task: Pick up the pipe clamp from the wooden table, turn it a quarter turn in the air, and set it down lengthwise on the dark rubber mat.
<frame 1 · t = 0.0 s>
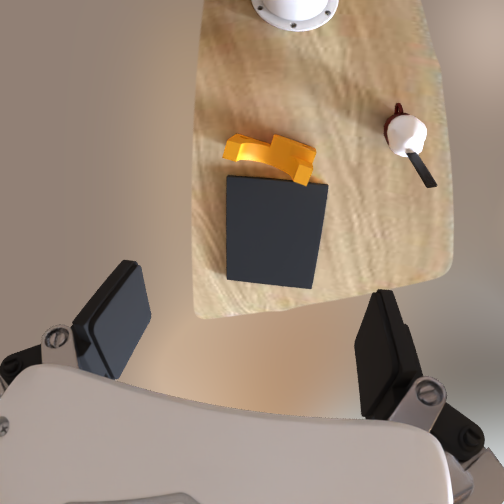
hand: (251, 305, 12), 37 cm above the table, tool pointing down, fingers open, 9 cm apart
cocoa: (397, 133, 39), on the table
pipe clamp: (273, 147, 44), on the table
mat: (273, 235, 51), on the table
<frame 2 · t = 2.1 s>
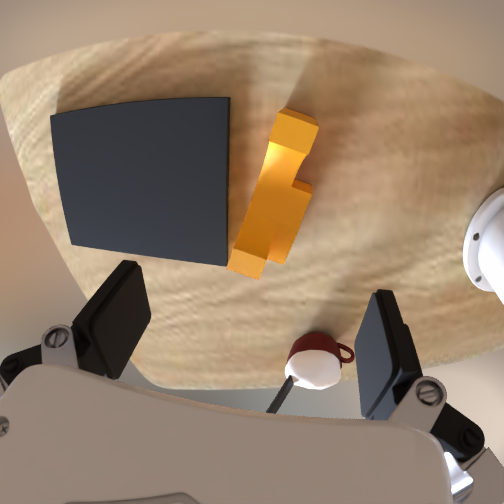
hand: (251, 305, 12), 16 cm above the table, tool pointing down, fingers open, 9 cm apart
cocoa: (311, 340, 34), on the table
pipe clamp: (286, 180, 25), on the table
mat: (131, 181, 27), on the table
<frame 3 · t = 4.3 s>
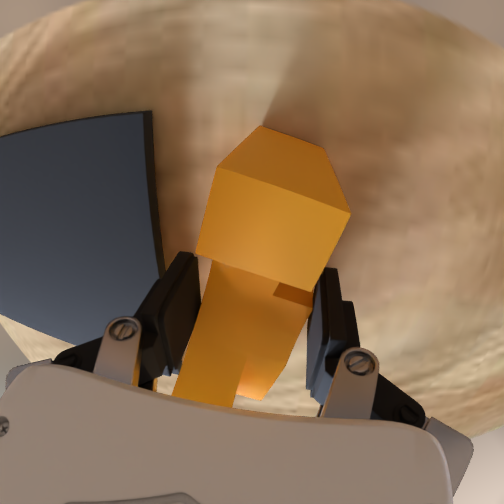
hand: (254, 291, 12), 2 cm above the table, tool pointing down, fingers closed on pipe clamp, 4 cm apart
pipe clamp: (265, 264, 14), on the table, touching gripper
mat: (37, 250, 16), on the table
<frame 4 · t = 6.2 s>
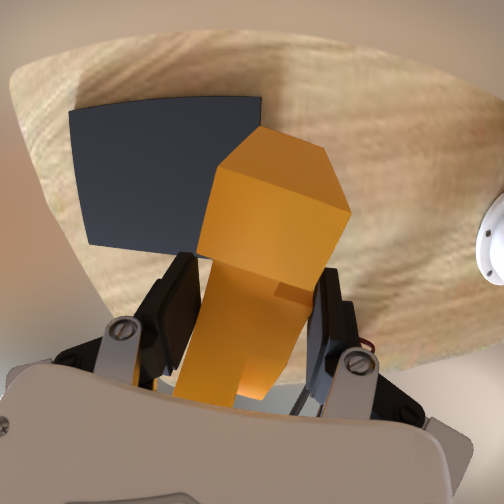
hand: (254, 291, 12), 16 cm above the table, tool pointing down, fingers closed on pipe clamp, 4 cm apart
cocoa: (331, 336, 35), on the table
pipe clamp: (266, 264, 14), point 14 cm above the table, touching gripper
mat: (156, 179, 28), on the table
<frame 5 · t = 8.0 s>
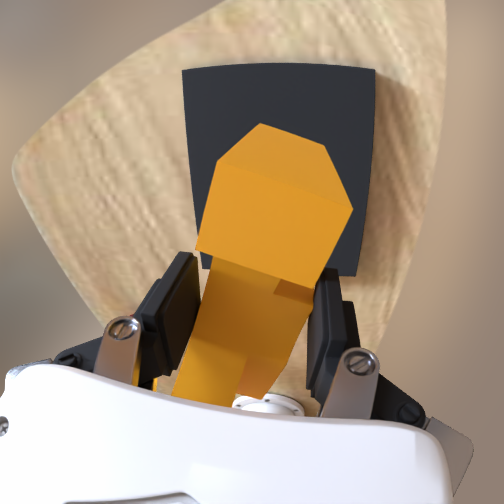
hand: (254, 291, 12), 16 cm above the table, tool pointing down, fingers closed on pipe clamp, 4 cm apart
pipe clamp: (266, 263, 14), point 14 cm above the table, touching gripper
mat: (279, 175, 26), on the table
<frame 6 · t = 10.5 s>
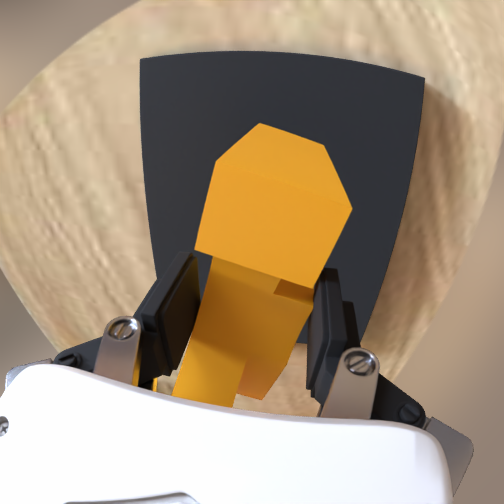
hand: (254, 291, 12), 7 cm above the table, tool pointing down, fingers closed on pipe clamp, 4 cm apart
pipe clamp: (266, 263, 14), point 5 cm above the table, touching gripper
mat: (270, 218, 19), on the table
when the fingers open (3 cm above the table, at t = 12.2 s): pipe clamp stays where it is, resting on mat.
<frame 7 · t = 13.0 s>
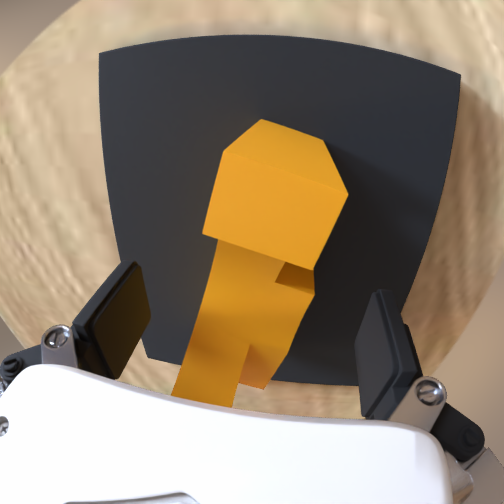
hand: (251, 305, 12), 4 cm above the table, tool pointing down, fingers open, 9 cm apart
pipe clamp: (267, 254, 14), point 1 cm above the table, touching mat
mat: (264, 248, 15), on the table
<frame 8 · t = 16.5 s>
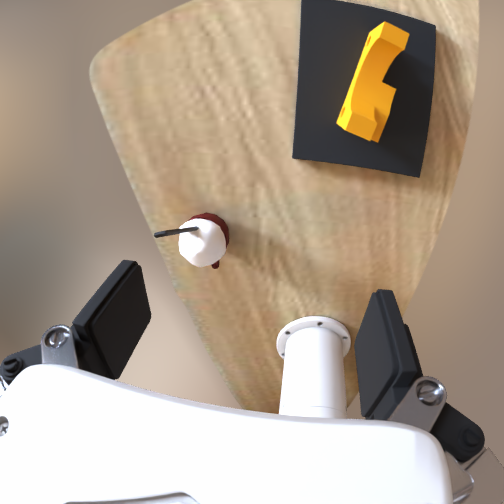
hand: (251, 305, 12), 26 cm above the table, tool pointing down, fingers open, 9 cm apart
cocoa: (211, 224, 40), on the table
pipe clamp: (371, 84, 27), point 1 cm above the table, touching mat
mat: (367, 84, 28), on the table
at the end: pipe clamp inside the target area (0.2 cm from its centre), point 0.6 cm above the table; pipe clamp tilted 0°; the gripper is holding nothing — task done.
